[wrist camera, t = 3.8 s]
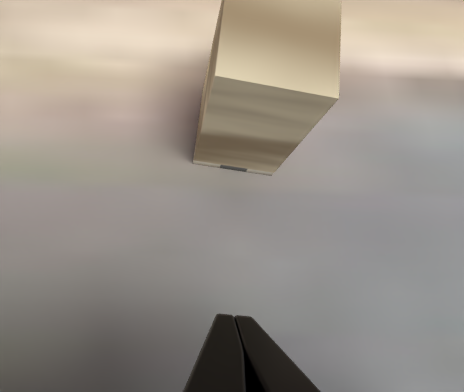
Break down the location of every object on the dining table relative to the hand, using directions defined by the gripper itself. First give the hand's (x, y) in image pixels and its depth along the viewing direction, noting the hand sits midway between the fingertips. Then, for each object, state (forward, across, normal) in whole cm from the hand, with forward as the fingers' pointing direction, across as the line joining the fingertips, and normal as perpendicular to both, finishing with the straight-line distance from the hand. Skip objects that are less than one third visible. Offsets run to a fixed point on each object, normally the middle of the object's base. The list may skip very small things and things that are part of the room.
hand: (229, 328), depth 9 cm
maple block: (+16, +2, -1) cm, 16 cm away
